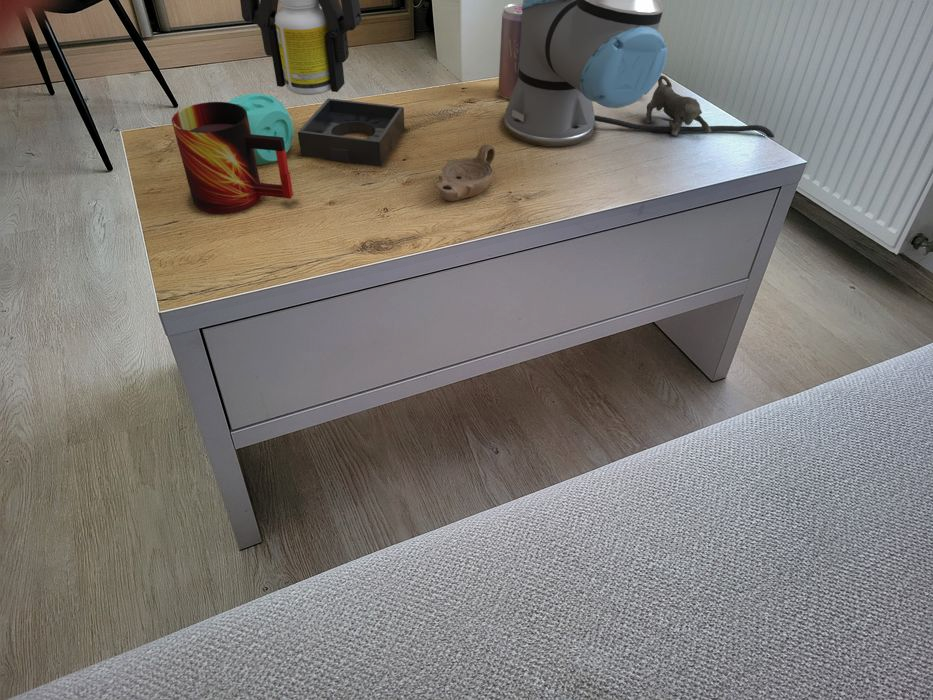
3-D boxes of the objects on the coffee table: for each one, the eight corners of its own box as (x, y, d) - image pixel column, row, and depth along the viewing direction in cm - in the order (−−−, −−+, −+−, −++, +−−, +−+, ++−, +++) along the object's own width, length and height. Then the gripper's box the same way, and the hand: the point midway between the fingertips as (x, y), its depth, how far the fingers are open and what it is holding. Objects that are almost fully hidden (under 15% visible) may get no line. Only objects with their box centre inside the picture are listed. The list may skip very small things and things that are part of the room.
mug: (295, 205, 102) (282, 125, 94) (193, 218, 99) (171, 136, 91) (288, 173, 108) (275, 96, 100) (192, 184, 105) (172, 105, 97)
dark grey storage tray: (404, 129, 120) (403, 106, 118) (381, 166, 111) (379, 142, 108) (330, 121, 122) (327, 98, 120) (300, 156, 113) (297, 132, 110)
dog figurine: (638, 118, 126) (646, 76, 121) (663, 112, 128) (672, 70, 123) (685, 146, 118) (696, 102, 113) (711, 139, 120) (722, 95, 115)
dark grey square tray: (405, 129, 120) (404, 118, 119) (381, 166, 111) (380, 154, 109) (330, 120, 122) (328, 109, 121) (300, 156, 113) (298, 144, 111)
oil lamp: (460, 215, 101) (461, 183, 97) (419, 198, 104) (418, 166, 101) (512, 179, 109) (514, 148, 105) (473, 164, 112) (474, 134, 108)
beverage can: (530, 89, 134) (537, 3, 124) (529, 102, 130) (536, 14, 120) (499, 87, 135) (503, 2, 125) (497, 100, 130) (501, 12, 120)
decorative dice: (224, 155, 112) (213, 105, 107) (263, 137, 117) (254, 88, 112) (259, 170, 109) (249, 120, 103) (297, 151, 113) (290, 102, 108)
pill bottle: (347, 85, 88) (338, -11, 80) (308, 101, 84) (294, 1, 77) (314, 72, 91) (302, -23, 83) (275, 86, 87) (258, -11, 80)
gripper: (173, -141, 71) (224, 89, 86) (360, -132, 68) (377, 104, 83) (208, -153, 76) (250, 66, 92) (382, -144, 73) (395, 80, 89)
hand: (310, 84), depth 87 cm, fingers closed on pill bottle, 6 cm apart
